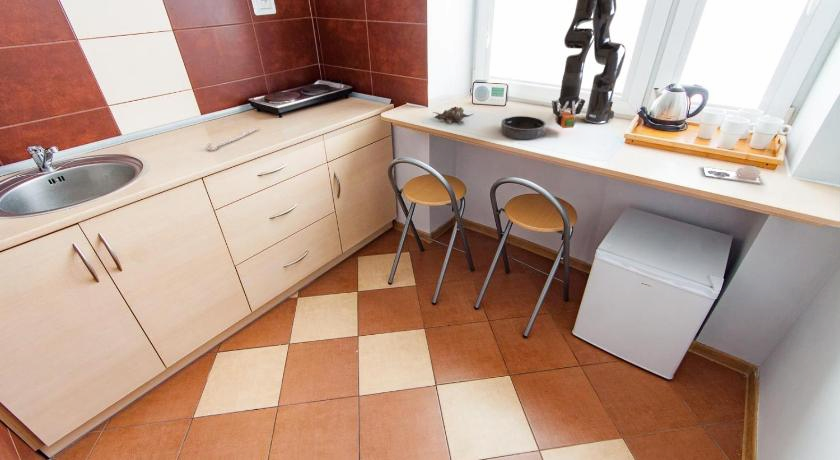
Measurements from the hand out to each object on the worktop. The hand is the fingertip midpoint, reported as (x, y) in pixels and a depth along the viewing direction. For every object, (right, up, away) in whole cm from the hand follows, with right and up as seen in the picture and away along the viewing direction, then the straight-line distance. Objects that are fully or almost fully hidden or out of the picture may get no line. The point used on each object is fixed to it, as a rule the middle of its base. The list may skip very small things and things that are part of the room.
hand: (564, 124), depth 167 cm
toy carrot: (0, 0, 0) cm, 0 cm away
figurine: (-47, +7, +20) cm, 51 cm away
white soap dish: (+42, -28, -37) cm, 63 cm away
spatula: (-145, -6, +4) cm, 145 cm away
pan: (-18, -3, +3) cm, 18 cm away
